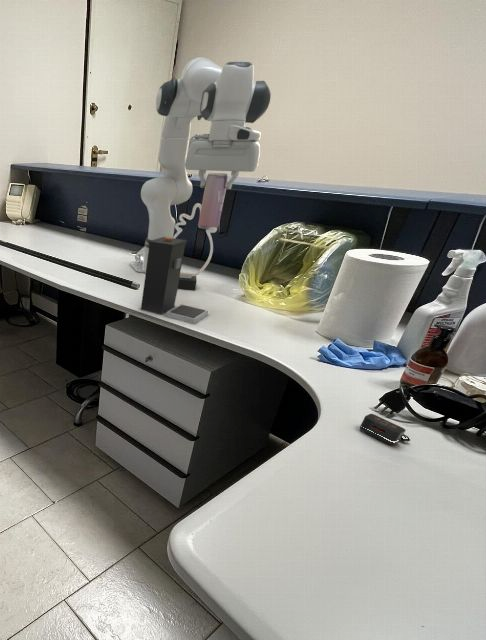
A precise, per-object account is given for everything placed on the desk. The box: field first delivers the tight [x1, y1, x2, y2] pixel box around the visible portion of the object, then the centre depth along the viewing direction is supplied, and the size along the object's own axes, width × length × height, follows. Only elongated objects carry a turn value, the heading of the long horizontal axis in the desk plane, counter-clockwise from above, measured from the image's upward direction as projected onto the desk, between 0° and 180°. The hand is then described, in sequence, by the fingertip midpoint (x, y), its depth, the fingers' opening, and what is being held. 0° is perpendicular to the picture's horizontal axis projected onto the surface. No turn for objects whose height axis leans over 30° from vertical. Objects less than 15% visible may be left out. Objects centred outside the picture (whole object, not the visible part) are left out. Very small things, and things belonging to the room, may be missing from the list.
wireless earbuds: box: [359, 413, 411, 446], centre depth 80 cm, size 5×7×3 cm, turn 27°
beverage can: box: [197, 172, 229, 230], centre depth 122 cm, size 6×6×15 cm
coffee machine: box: [140, 237, 209, 324], centre depth 135 cm, size 20×11×24 cm, turn 49°
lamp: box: [173, 202, 218, 291], centre depth 160 cm, size 17×9×32 cm, turn 73°
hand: (215, 188), depth 121 cm, fingers closed on beverage can, 6 cm apart
